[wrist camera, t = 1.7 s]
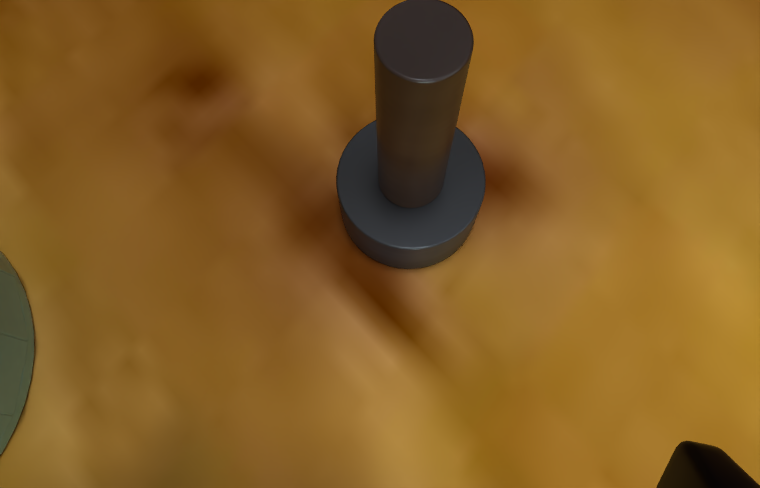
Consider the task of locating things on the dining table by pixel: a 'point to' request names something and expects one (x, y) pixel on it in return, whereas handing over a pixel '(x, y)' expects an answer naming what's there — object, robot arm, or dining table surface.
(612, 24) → the dining table surface
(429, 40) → the grey peg stand
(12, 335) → the bowl
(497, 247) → the dining table surface
